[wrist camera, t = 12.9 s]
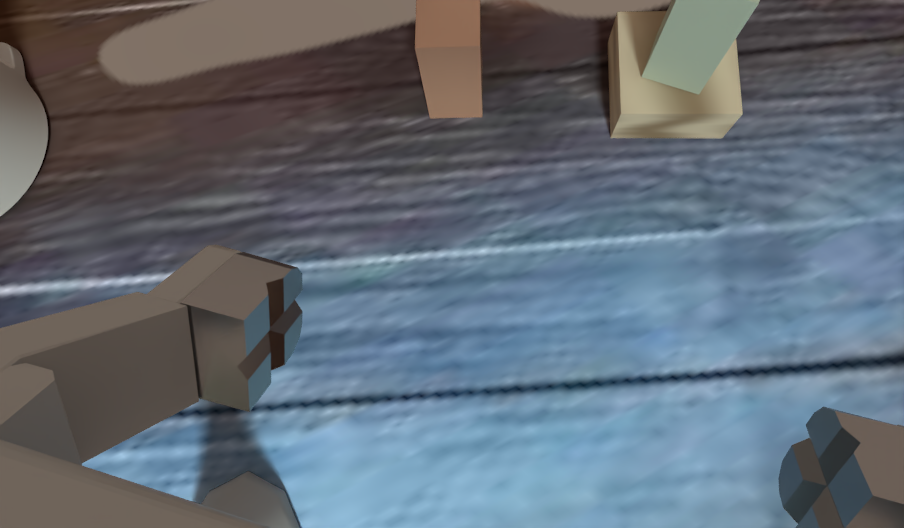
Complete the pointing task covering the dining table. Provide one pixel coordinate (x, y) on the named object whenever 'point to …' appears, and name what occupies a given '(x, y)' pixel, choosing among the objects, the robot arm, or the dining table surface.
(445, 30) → the terracotta block
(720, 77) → the beech block
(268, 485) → the flask
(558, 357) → the dining table surface
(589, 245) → the dining table surface
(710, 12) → the sage block
